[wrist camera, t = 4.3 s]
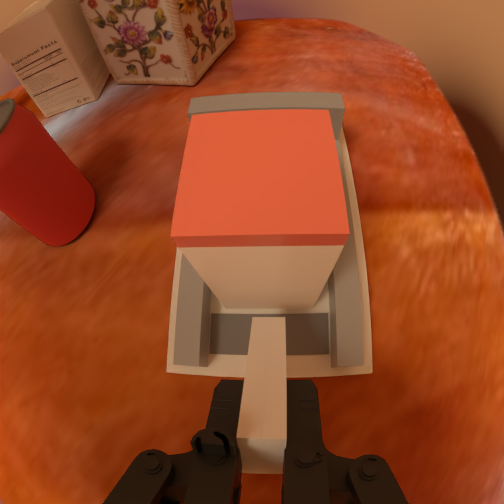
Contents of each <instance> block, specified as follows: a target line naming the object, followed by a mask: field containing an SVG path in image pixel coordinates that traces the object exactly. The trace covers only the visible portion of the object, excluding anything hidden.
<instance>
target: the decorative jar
mask: <svg viewBox="0 0 504 504" xmlns="http://www.w3.org/2000/svg"><path fill="white" fill-rule="evenodd" d="M78 2H79V5H80V7H81V9H82V12H83V14H84V16H85V18H86V21H87V23H88V25H89V28H90V30H91V32H92V35H93V37H94V39H95V41H96V44H97V46H98V48H99V50H100V52H101V54H102V56H103V59H104V60H105V63H106V65H107V67H108V69H109V71H110V72H111V74H112V76H113V78H114V80H115V82H116V84H156V85H180V86H194V85H195V84H196V83H197V82H198V81H199V80H200V78H201V77H202V76H203V74H204V73H205V72H206V71H207V70H208V69H209V67H210V66H211V65H212V64H213V63H214V61H215V60H216V59H217V58H218V57H219V56H220V55H221V54H222V52H223V51H224V50H225V49H226V48H227V47H228V46H229V45H230V44H231V43H232V42H233V40H234V39H235V25H234V18H233V12H232V6H231V0H78Z"/></svg>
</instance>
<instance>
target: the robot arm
mask: <svg viewBox="0 0 504 504" xmlns="http://www.w3.org/2000/svg"><path fill="white" fill-rule="evenodd" d="M190 442H191V445H192V447H193V450H192V451H190V452H188V453H183V454H176V455H167V454H166V453H164V452H162V451H160V450H155V449H152V450H146V451H144V452H141V453H140V454H139V455H138V456H137V457H136V458H135V459H134V461H133V462H132V463H131V465H130V466H129V468H128V469H127V471H126V472H125V473H124V475H123V476H122V478H121V479H120V480H119V482H118V483H117V485H116V486H115V487H114V489H113V490H112V492H111V493H110V494H109V496H108V497H107V499H106V500H105V501H104V503H103V504H240V495H241V473H253V474H283V483H282V493H281V494H282V502H281V504H408V502H407V500H406V498H405V496H404V494H403V492H402V490H401V488H400V486H399V485H398V483H397V481H396V479H395V477H394V475H393V473H392V471H391V469H390V467H389V465H388V464H387V463H386V461H385V460H384V459H383V458H381V457H379V456H377V455H370V454H369V455H363V456H361V457H359V458H357V459H355V460H354V459H348V458H343V457H339V456H335V455H333V454H332V453H330V452H329V451H328V450H327V449H326V448H325V446H324V444H323V440H322V431H321V420H320V410H319V402H318V391H317V388H316V386H315V385H314V383H313V382H312V380H286V328H285V317H252V325H251V333H250V340H249V348H248V356H247V363H246V371H245V378H244V380H223V379H222V380H221V381H220V383H219V384H218V385H217V386H216V387H215V389H214V394H213V398H212V403H211V408H210V411H209V416H208V420H207V424H206V429H203V430H201V431H199V432H197V433H196V434H195V435H194V436H193V438H192V440H191V441H190Z"/></svg>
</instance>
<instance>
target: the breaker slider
mask: <svg viewBox="0 0 504 504" xmlns="http://www.w3.org/2000/svg"><path fill="white" fill-rule="evenodd" d="M349 234H350V232H349V224H348V217H347V209H346V202H345V195H344V189H343V183H342V176H341V170H340V165H339V159H338V154H337V148H336V143H335V138H334V133H333V128H332V123H331V118H330V114H329V110H314V109H276V110H248V111H231V112H218V113H207V114H197V115H192V118H191V122H190V127H189V131H188V136H187V141H186V146H185V151H184V156H183V161H182V167H181V172H180V177H179V183H178V189H177V195H176V201H175V207H174V213H173V220H172V227H171V234H170V237H171V238H172V240H173V241H174V242H175V244H176V245H177V246H178V248H179V249H180V250H181V252H182V253H183V254H184V256H185V257H186V258H187V260H188V261H189V262H190V264H191V265H192V266H193V268H194V269H195V270H196V271H197V273H198V274H199V275H200V277H201V278H202V279H203V280H204V282H205V283H206V284H207V285H208V287H209V288H210V289H211V291H212V292H213V293H214V294H215V296H216V297H217V298H218V299H219V301H220V302H221V303H222V304H223V306H224V307H225V308H226V309H297V308H313V307H314V305H315V303H316V301H317V300H318V298H319V296H320V294H321V292H322V290H323V288H324V286H325V284H326V282H327V280H328V278H329V276H330V274H331V272H332V270H333V268H334V266H335V264H336V262H337V260H338V257H339V255H340V253H341V251H342V249H343V247H344V245H345V243H346V241H347V238H348V236H349Z"/></svg>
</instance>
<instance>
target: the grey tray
mask: <svg viewBox="0 0 504 504" xmlns="http://www.w3.org/2000/svg"><path fill="white" fill-rule="evenodd" d="M276 109H314V110H329V114H330V118H331V123H332V128H333V133H334V138H335V143H336V148H337V154H338V159H339V165H340V170H341V176H342V183H343V189H344V195H345V202H346V209H347V217H348V224H349V232H350V234H349V236H348V238H347V241H346V243H345V245H344V247H343V249H342V251H341V253H340V255H339V257H338V260H337V262H336V264H335V266H334V268H333V270H332V272H331V274H330V276H329V278H328V280H327V282H326V284H325V286H324V288H323V290H322V292H321V294H320V296H319V298H318V300H317V301H316V303H315V305H314V307H313V308H297V309H226V308H225V307H224V306H223V304H222V303H221V302H220V301H219V299H218V298H217V297H216V296H215V294H214V293H213V292H212V291H211V289H210V288H209V287H208V285H207V284H206V283H205V282H204V280H203V279H202V278H201V277H200V275H199V274H198V273H197V271H196V270H195V269H194V268H193V266H192V265H191V264H190V262H189V261H188V260H187V258H186V257H185V256H184V254H183V253H182V252H181V250H180V249H179V248H178V246H177V251H176V260H175V269H174V278H173V288H172V299H171V310H170V323H169V336H168V352H167V372H170V373H180V374H191V375H205V376H222V377H245V371H246V363H247V356H248V348H249V340H250V333H251V325H252V317H285V328H286V378H301V377H327V376H344V375H357V374H369V373H373V370H372V337H371V318H370V304H369V291H368V280H367V270H366V261H365V252H364V244H363V237H362V229H361V222H360V216H359V209H358V203H357V197H356V191H355V186H354V180H353V175H352V170H351V164H350V159H349V155H348V150H347V145H346V141H345V136H344V132H343V128H342V121H343V116H344V111H345V107H344V104H343V100H342V97H341V93H324V92H262V93H242V94H228V95H216V96H206V97H197V98H191V101H190V105H189V109H188V116H189V119H190V122H191V118H192V115H197V114H207V113H218V112H231V111H248V110H276Z"/></svg>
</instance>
